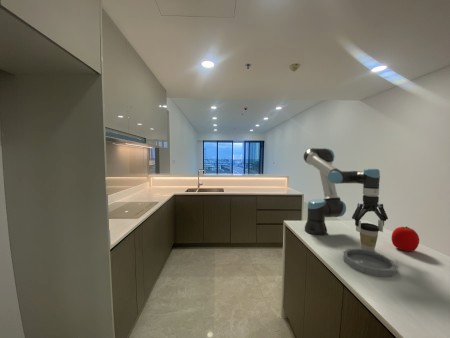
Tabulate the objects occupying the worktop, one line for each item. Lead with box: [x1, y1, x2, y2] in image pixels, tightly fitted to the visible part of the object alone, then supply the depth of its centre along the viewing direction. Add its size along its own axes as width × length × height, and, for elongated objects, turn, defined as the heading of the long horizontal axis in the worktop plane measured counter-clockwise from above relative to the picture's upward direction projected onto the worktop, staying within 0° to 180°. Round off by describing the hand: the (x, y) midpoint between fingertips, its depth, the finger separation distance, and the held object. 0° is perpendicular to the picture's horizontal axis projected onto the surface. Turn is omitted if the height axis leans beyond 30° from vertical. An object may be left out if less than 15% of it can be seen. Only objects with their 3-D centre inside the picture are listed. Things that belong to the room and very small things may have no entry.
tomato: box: [390, 226, 420, 252], centre depth 118 cm, size 13×11×14 cm
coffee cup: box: [359, 222, 380, 252], centre depth 117 cm, size 10×10×15 cm
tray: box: [342, 248, 398, 278], centre depth 102 cm, size 21×21×3 cm
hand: (369, 231), depth 116 cm, fingers open, 13 cm apart
